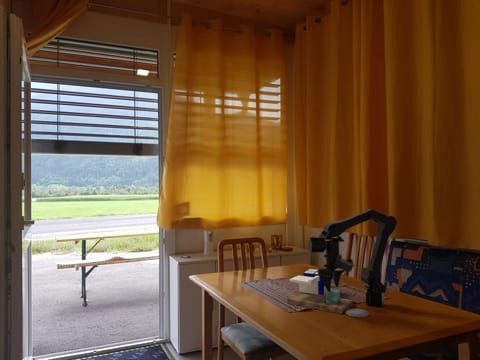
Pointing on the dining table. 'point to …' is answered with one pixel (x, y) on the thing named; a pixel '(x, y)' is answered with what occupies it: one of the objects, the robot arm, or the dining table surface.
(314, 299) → the puzzle board
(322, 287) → the puzzle cube
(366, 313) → the slate mat
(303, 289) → the slide cover
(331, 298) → the block
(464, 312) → the dining table surface
